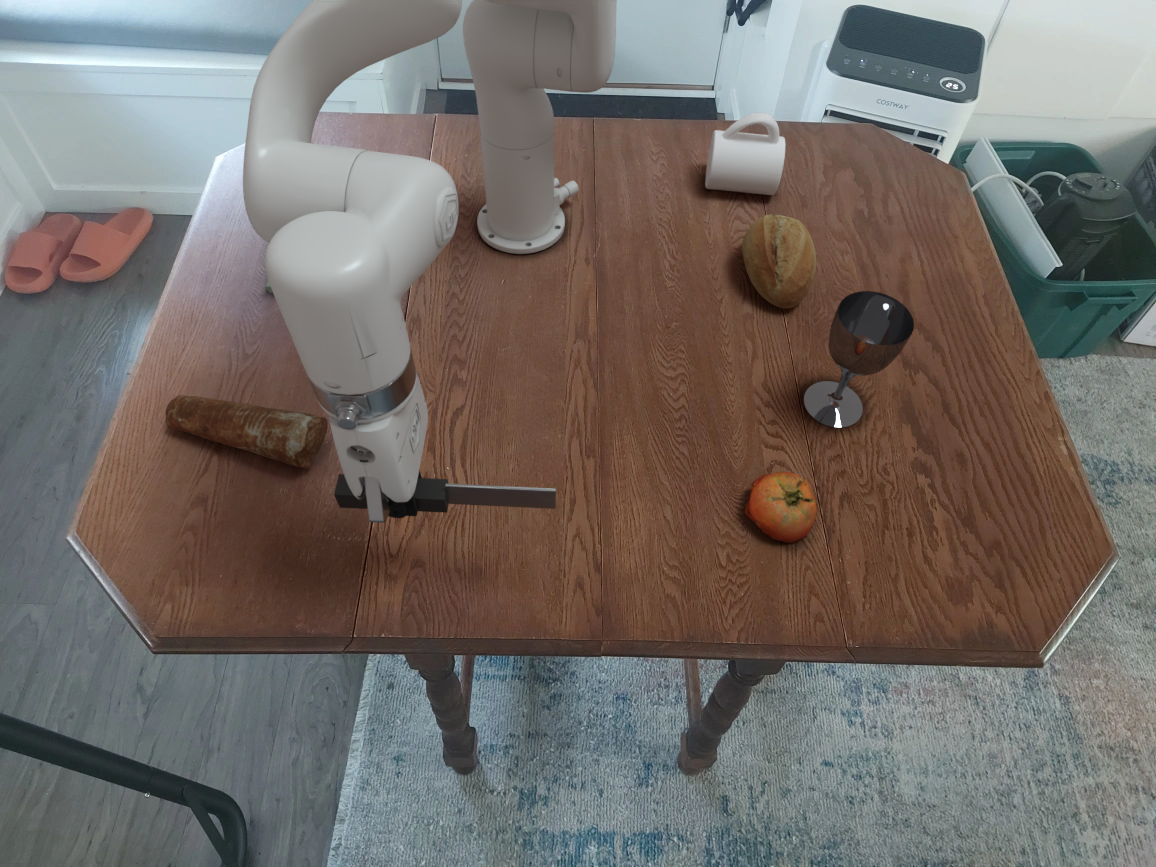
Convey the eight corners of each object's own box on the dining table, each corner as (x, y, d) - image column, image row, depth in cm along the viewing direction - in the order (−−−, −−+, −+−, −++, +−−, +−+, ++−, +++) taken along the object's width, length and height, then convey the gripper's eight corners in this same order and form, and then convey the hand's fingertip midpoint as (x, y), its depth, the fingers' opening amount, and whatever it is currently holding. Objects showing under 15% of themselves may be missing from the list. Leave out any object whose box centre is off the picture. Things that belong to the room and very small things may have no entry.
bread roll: (745, 316, 100) (759, 270, 93) (729, 240, 109) (741, 194, 102) (817, 316, 100) (835, 270, 94) (795, 240, 109) (811, 194, 102)
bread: (313, 480, 84) (299, 453, 79) (163, 436, 87) (141, 407, 82) (340, 436, 87) (328, 407, 83) (195, 395, 90) (176, 365, 86)
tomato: (769, 555, 78) (766, 488, 77) (732, 535, 84) (729, 473, 83) (832, 539, 81) (831, 473, 79) (792, 521, 87) (789, 460, 86)
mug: (705, 166, 119) (719, 94, 109) (771, 173, 118) (791, 101, 108) (704, 199, 114) (718, 127, 104) (772, 206, 113) (793, 134, 103)
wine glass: (869, 388, 93) (917, 301, 81) (862, 438, 89) (911, 354, 77) (805, 371, 95) (842, 283, 82) (795, 419, 90) (832, 333, 78)
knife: (339, 507, 70) (331, 489, 67) (344, 487, 71) (337, 469, 69) (554, 517, 70) (555, 500, 68) (556, 497, 71) (556, 479, 69)
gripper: (394, 464, 51) (431, 580, 66) (430, 297, 60) (454, 431, 75) (283, 459, 51) (345, 576, 66) (336, 292, 60) (379, 428, 75)
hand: (403, 498), depth 70 cm, fingers closed on knife, 2 cm apart
